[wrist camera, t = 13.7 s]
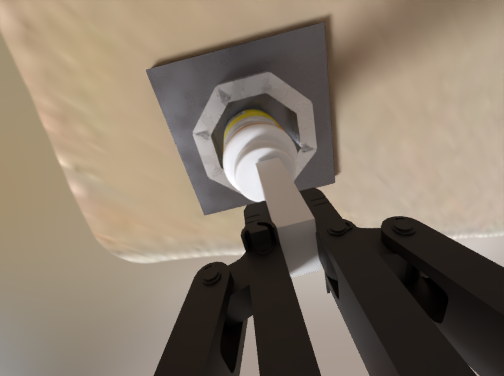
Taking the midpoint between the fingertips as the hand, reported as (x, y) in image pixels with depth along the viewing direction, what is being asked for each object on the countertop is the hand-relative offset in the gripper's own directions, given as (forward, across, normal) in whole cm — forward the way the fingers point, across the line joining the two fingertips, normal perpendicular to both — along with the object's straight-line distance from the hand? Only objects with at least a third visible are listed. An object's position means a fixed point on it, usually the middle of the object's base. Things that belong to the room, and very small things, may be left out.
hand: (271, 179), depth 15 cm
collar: (+12, 0, 0) cm, 12 cm away
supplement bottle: (+11, 0, 0) cm, 11 cm away
